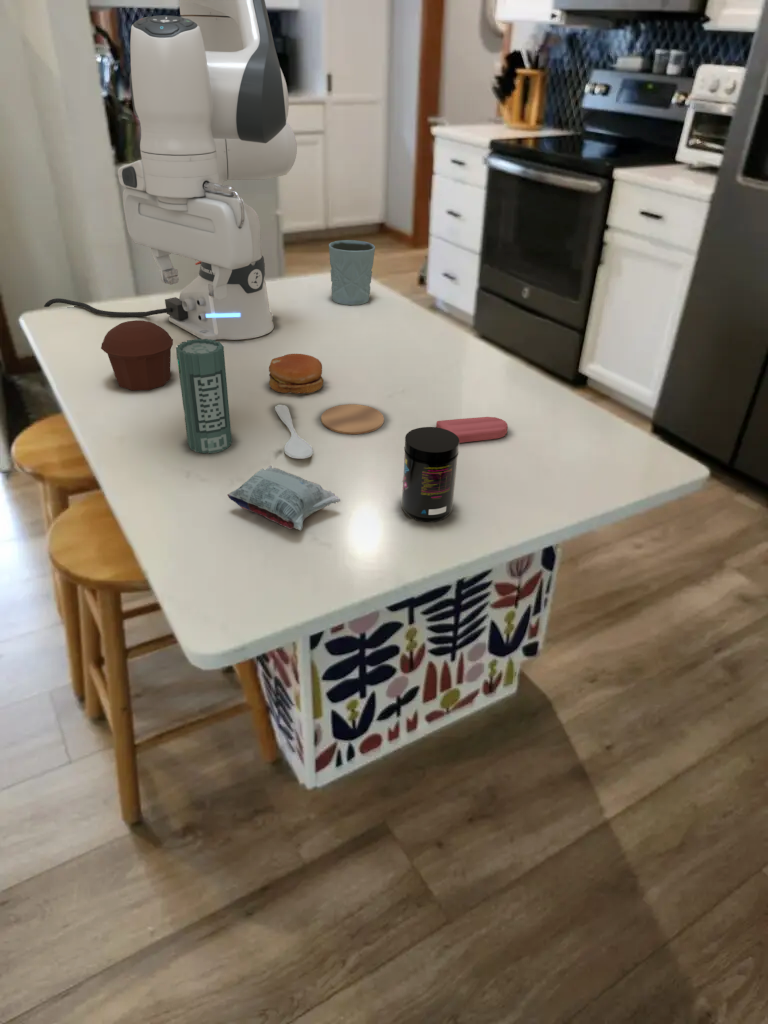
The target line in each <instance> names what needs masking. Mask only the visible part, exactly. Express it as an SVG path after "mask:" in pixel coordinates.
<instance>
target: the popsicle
mask: <svg viewBox="0 0 768 1024" xmlns="http://www.w3.org/2000/svg"><path fill="white" fill-rule="evenodd" d="M435 427H437V428H442V429H446V430H449V431H451V432H453V433H454V434H456V435H457V437H458V438H459V444H461V443H471V442H479V441H480V442H481V441H488V440H496V439H497V440H498V439H501V438H503V437H505V436H506V435H507V433H508V428H509V426H508V422H507V421H505V420H504V419H502V418H499V417H496V416H481V417H480V416H479V417H467V418H465V417H464V418H454V419H441V420H436V425H435Z"/></svg>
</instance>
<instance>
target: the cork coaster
mask: <svg viewBox="0 0 768 1024" xmlns="http://www.w3.org/2000/svg"><path fill="white" fill-rule="evenodd" d="M320 422H321V424H322V425H323V427H325V428H327V430H330V431H332V432H335V433H338V434H343V435H363V434H368V433H371V432H375V431H376V430H378V429H380V428H381V427H382V426H383V424H384V422H385V417H384V415H383V413H382V412H381V411H380V410H378V409H376V408H375V407H371V406H369V405H363V404H354V403H353V404H352V403H351V404H350V403H349V404H339V405H336V406H331V407H329V408H328V409H326V410H325V411H324V412H323V413H322V414H321V415H320Z"/></svg>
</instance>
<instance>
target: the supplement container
mask: <svg viewBox="0 0 768 1024" xmlns="http://www.w3.org/2000/svg"><path fill="white" fill-rule="evenodd" d="M459 448H460V443H459V438H458V437H457V435H456V434H454V433H453V432H451V431H449V430H446V429H442V428H437V427H436V426H422V427H416V428H413V429H411V430H409V431H408V432H407V433H406V434H405V437H404V449H403V450H404V456H403V476H402V489H401V491H402V493H401V508H402V511H403V512H404V513H405V514H406V516H408V518H411V519H413V520H415V521H417V522H423V523H435V522H439V521H440V522H441V521H442V520H445V519H446V518H447V517H448V516H449V515H450V514H451V512H452V511H453V506H454V496H455V485H456V476H457V467H458V457H459V453H460V451H459V450H460V449H459Z"/></svg>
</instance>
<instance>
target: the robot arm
mask: <svg viewBox="0 0 768 1024" xmlns="http://www.w3.org/2000/svg"><path fill="white" fill-rule="evenodd" d="M178 1H179V2H178V4H179V13H180V14H179V15H180V16H177V15H153V16H145V17H142V18H138V19H137V20H136V21H134V22H133V23H132V24H131V27H130V43H129V44H130V45H129V46H130V73H129V88H130V95H131V96H130V97H131V102H132V109H133V114H134V116H135V117H136V118H137V119H138V120H139V124H140V125H139V126H140V133H141V134H140V142H139V150H140V157H141V159H137V160H136V161H133V162H131V163H128V164H125V165H123V166H120V167H118V169H117V175H118V182H119V184H120V185H121V186H122V187H124V189H123V192H122V204H123V211H124V219H125V223H126V230H127V233H128V235H129V237H130V239H131V240H132V242H133V243H134V244H136V245H140V246H144V247H147V248H150V251H151V257H152V259H153V260H154V262H155V264H156V267H157V268H158V270H159V274H160V280H161V282H162V283H163V284H167V285H171V286H172V285H174V284H175V285H176V284H178V283H179V281H180V279H179V276H178V275H179V270H178V269H177V268H174V265H173V262H172V260H171V257H170V255H172V254H173V255H177V256H179V257H184V258H187V259H191V260H194V261H197V262H195V263H194V265H195V266H198V265H200V266H199V271H198V275H196V277H195V278H194V279H193V280H192V281H190V282H189V283H188V284H187V285H186V286H184V288H182V289H181V291H180V293H179V298H178V297H177V296H174V297H170V298H166V299H164V304H165V308H159V309H154V310H148V311H111V310H110V311H109V310H102V309H98V308H96V307H93V306H91V305H90V304H87V303H84V302H80V301H75V300H70V299H67V298H59V297H58V298H56V297H55V298H51V299H50V300H48V301H46V302H45V304H44V305H43V307H44V308H49V307H51V305H54V304H64V305H65V304H66V305H70V306H74V307H79V308H84V309H86V310H88V311H90V312H92V313H94V314H97V315H100V316H108V317H124V318H126V317H128V318H129V317H133V318H134V317H150V316H154V315H161V314H166V315H168V322H170V323H172V324H173V325H175V326H177V327H179V328H181V329H183V330H184V331H186V332H188V333H190V334H191V335H194V336H195V337H197V338H198V339H208V340H210V339H211V340H215V341H218V340H231V341H232V340H233V341H234V340H235V341H236V340H237V341H238V340H249V339H255V338H259V337H263V336H265V335H267V334H270V333H271V332H272V331H273V330H274V328H275V326H274V322H273V320H274V314H273V312H272V311H271V308H270V301H269V294H268V289H267V288H268V287H267V283H266V281H265V276H266V262H265V257H264V255H262V235H261V221H260V217H259V215H258V213H257V211H256V210H255V209H254V208H253V207H252V206H250V205H249V204H247V203H246V202H244V199H243V198H242V197H241V195H240V194H239V193H238V192H237V191H236V189H235V187H233V186H231V185H229V184H228V185H224V182H228V181H265V180H269V179H275V178H278V177H283V176H286V175H288V173H289V172H290V171H291V170H292V168H293V166H294V165H295V162H296V159H297V153H298V146H297V137H296V135H295V132H294V130H293V128H292V127H291V125H290V124H289V122H288V121H287V120H288V115H289V107H290V100H289V92H288V85H287V82H286V77H285V76H284V73H283V70H282V68H281V65H280V61H279V58H278V53H277V51H276V46H275V41H274V38H273V37H274V36H273V33H272V27H271V24H270V18H269V15H268V9H267V5H266V1H265V0H178Z"/></svg>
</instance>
